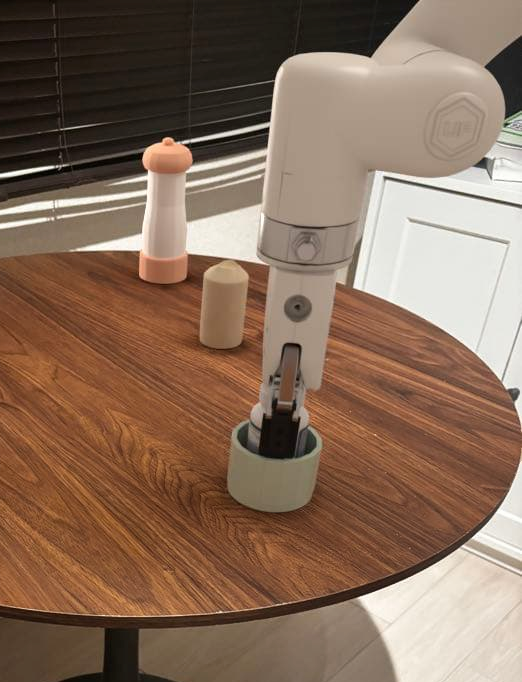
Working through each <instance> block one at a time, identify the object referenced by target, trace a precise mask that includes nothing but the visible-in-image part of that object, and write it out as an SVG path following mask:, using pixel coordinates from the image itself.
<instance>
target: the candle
mask: <svg viewBox="0 0 522 682" xmlns="http://www.w3.org/2000/svg"><path fill="white" fill-rule="evenodd" d="M249 278H250V275H249V274H248V272H247V271H246V270H245V269H244V268H243V267H242V266H241V265H240V264H238V262H236V261H235V260H234V259H225V260H222V261H221V262H220V263H217V264H215V265H213V266H211V267H209V268H207V270H206V271H205V272H204V273H203V278H202V279H203V280H202V281H203V282H202V293H201V294H202V295H201V307H200V308H201V309H200V321H199V322H200V323H199V324H200V325H199V341H200V343H201V344H202V345H204V346H206V347H209V348H212V349H220V350H227V349H233V348H236V347H238V346H240V345H241V344H242V341H243V336H244V327H245V317H246V307H247V297H248V289H249V288H248V287H249V280H250V279H249Z"/></svg>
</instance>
